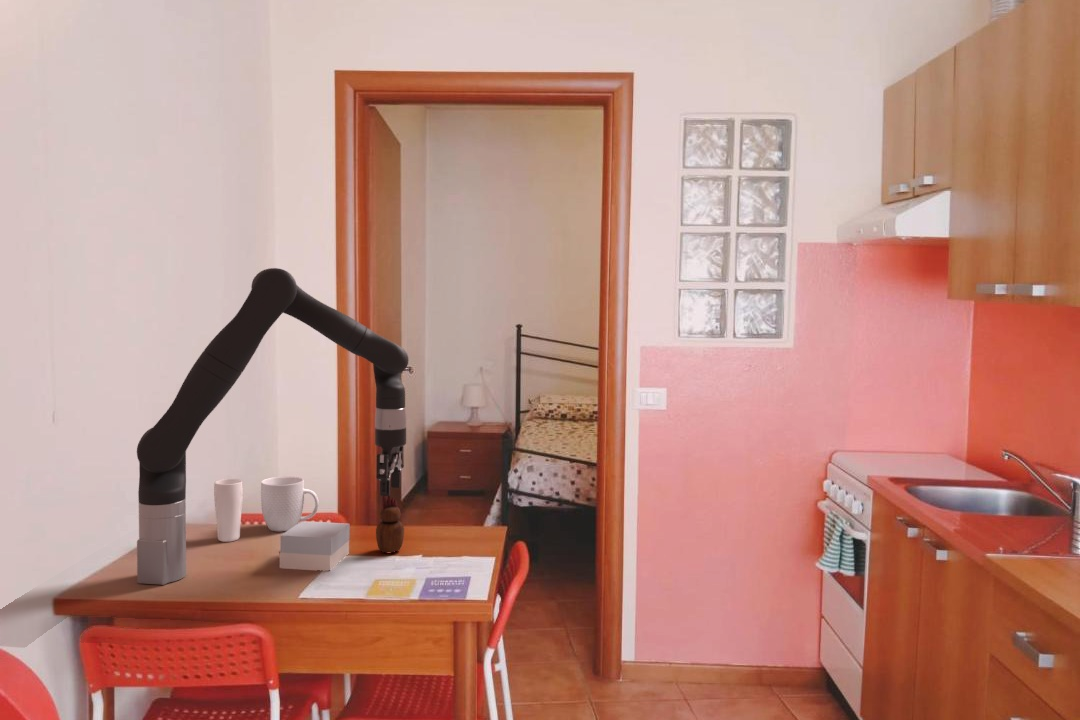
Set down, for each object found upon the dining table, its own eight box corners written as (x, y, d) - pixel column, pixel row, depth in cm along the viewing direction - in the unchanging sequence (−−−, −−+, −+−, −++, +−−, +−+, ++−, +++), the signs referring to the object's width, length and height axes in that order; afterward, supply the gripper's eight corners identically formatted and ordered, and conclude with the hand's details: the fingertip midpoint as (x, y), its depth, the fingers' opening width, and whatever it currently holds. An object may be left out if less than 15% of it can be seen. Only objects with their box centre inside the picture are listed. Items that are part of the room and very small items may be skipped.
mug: (320, 521, 214) (320, 475, 213) (317, 533, 203) (317, 484, 202) (264, 523, 211) (264, 476, 210) (257, 535, 200) (257, 485, 199)
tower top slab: (331, 555, 174) (331, 538, 174) (280, 552, 175) (280, 535, 175) (349, 539, 186) (349, 523, 186) (302, 537, 187) (302, 521, 187)
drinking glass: (215, 536, 198) (215, 479, 197) (243, 534, 200) (243, 478, 199) (213, 544, 192) (212, 485, 191) (242, 542, 194) (241, 483, 193)
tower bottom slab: (330, 572, 174) (330, 555, 174) (279, 569, 176) (279, 552, 175) (348, 555, 186) (348, 539, 186) (301, 553, 187) (301, 537, 187)
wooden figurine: (376, 555, 185) (377, 495, 184) (375, 548, 191) (375, 489, 190) (404, 554, 187) (405, 493, 186) (402, 546, 193) (403, 488, 192)
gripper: (397, 431, 179) (396, 499, 181) (413, 422, 194) (413, 485, 195) (366, 430, 180) (366, 497, 181) (384, 421, 194) (384, 484, 196)
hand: (390, 491), depth 188 cm, fingers open, 8 cm apart
